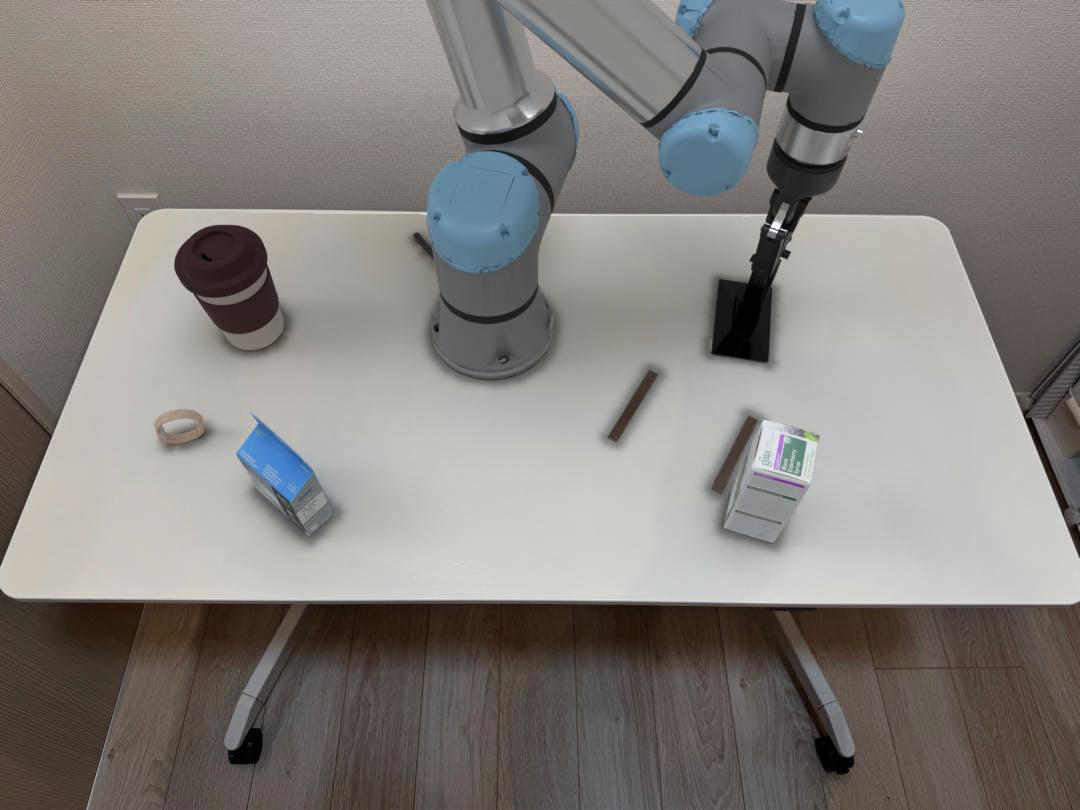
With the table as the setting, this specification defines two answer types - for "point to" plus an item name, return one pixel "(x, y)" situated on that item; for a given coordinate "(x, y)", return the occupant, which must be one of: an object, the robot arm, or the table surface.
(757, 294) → the build plate
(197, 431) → the beige hollow ring
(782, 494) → the syrup box
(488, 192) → the robot arm
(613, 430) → the strips
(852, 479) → the table surface
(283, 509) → the label tape box
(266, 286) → the coffee cup
